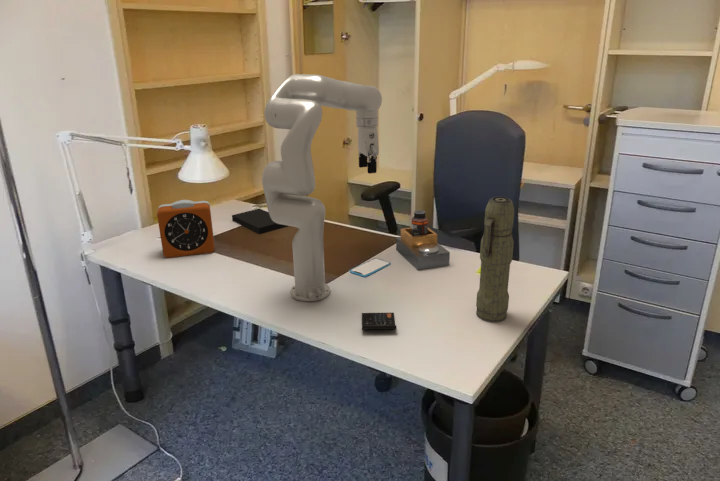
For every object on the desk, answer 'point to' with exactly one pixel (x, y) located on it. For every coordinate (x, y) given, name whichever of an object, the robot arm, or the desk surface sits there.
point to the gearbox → (422, 250)
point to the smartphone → (369, 267)
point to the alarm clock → (185, 228)
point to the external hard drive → (257, 221)
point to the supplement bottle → (419, 224)
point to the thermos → (495, 260)
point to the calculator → (378, 321)
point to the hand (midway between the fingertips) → (367, 170)
